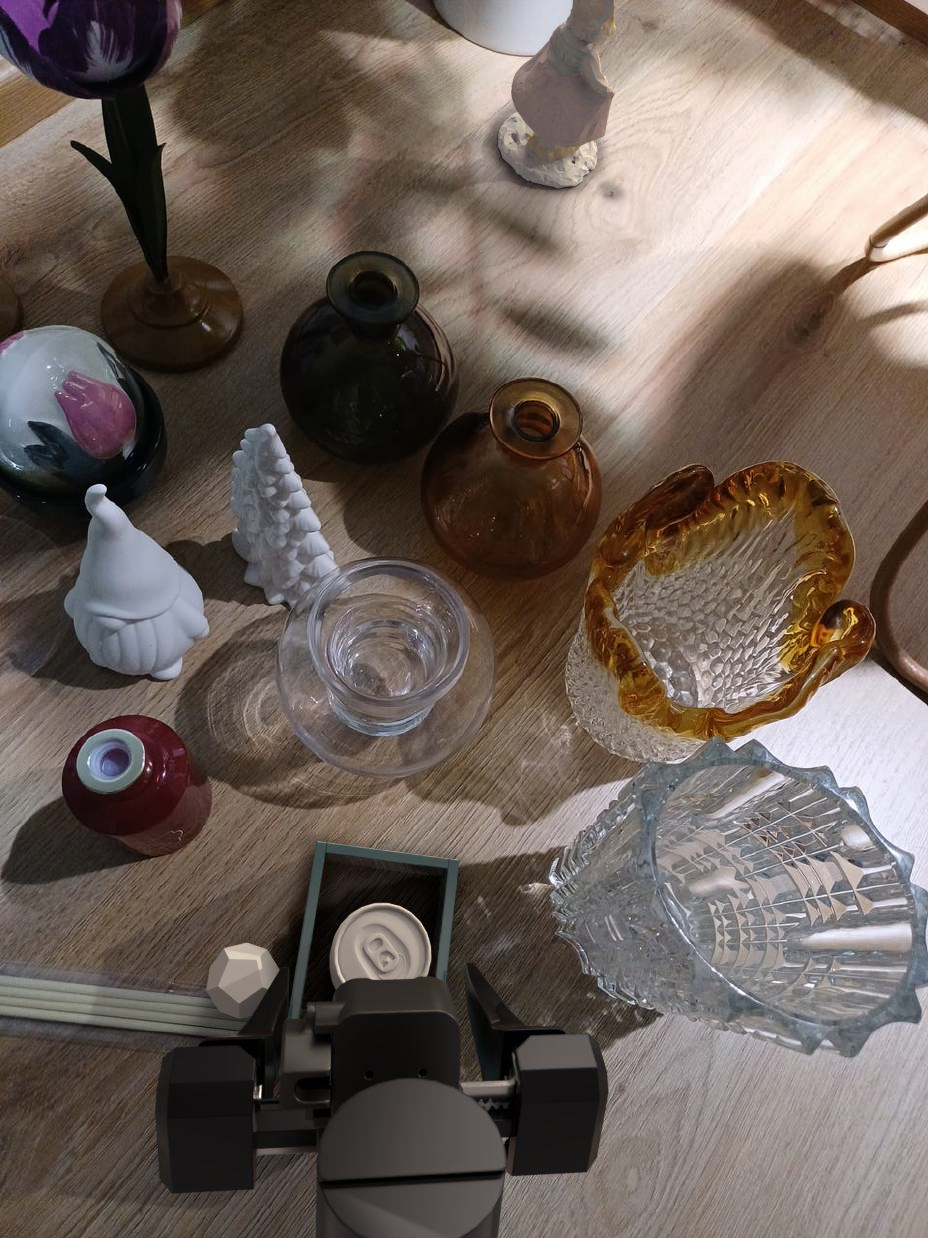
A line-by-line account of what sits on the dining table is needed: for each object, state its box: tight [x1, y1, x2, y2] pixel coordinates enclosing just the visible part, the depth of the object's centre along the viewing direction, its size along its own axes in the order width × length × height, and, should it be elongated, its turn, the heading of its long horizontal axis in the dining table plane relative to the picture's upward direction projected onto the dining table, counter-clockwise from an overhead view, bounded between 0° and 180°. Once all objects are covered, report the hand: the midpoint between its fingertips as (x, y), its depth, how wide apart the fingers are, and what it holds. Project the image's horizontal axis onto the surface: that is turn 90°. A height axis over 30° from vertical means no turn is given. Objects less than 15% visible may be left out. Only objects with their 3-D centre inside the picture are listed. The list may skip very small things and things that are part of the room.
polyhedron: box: [205, 942, 280, 1019], centre depth 57 cm, size 4×4×3 cm
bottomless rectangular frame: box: [278, 840, 460, 1082], centre depth 58 cm, size 12×8×4 cm
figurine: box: [497, 0, 617, 196], centre depth 78 cm, size 11×10×15 cm
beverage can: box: [329, 902, 432, 991], centre depth 54 cm, size 5×5×12 cm
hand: (377, 971), depth 52 cm, fingers open, 9 cm apart
